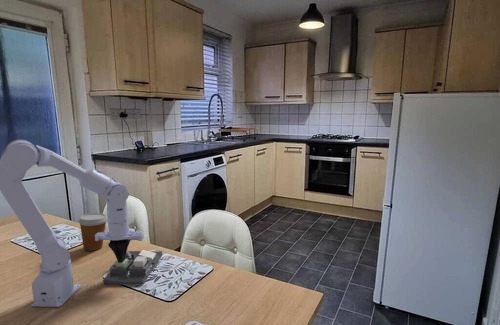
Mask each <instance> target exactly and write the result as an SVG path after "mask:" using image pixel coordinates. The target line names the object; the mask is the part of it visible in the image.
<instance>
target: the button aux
mask: <svg viewBox="0 0 500 325" xmlns="http://www.w3.org/2000/svg"><path fill="white" fill-rule="evenodd" d="M133 262H134V267H144V266H145V264H146V263H147V257H144V256H137V257H136V259H135V260H134V261H133Z"/></svg>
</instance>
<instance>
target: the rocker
mask: <svg viewBox="0 0 500 325" xmlns="http://www.w3.org/2000/svg"><path fill="white" fill-rule="evenodd" d="M140 251H141V252H140V254H139V255H138V256H144V257H147V260H153V259H154V257H155V256H156V253H154V252H150V251H151V250H150V251H149V250H146V249H142V250H140Z"/></svg>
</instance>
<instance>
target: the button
mask: <svg viewBox="0 0 500 325" xmlns="http://www.w3.org/2000/svg"><path fill="white" fill-rule="evenodd" d="M114 263H115V267H126V266H127V265H128V263H129V262H128V259H125V260H124V261H123V262H122V263H118V261H117V260H116V261H115V262H114Z"/></svg>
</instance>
